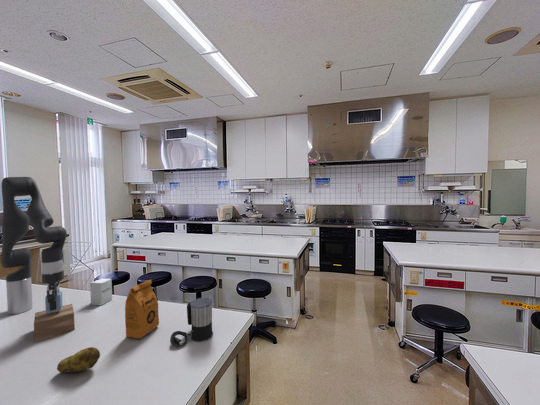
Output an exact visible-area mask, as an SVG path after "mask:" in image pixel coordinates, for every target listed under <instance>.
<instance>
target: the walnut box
mask: <svg viewBox="0 0 540 405" xmlns="http://www.w3.org/2000/svg"><path fill="white" fill-rule="evenodd" d="M75 325H76V324H75V311H74V306H73V303H70V304H65V305H63V306H62V308H61V310H59V311H54V312H50V313H46V309H45V310H41V311H38V312H35V314H34V320H33V333H34V335H33V336H34V343H36V342H40V341H43V340H46V339H50V338H53V337H56V336H58V335H63V334H66V333H69V332H72V331H75Z"/></svg>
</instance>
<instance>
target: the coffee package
mask: <svg viewBox="0 0 540 405" xmlns="http://www.w3.org/2000/svg"><path fill="white" fill-rule="evenodd" d="M152 283H153V281H152V279H149V280H146V281H144V282H141V283H139V284H137V285H135V286H133V287H131V288H130V289H129V292H128V295H127V296H126V299H125V306H124V312H125V314H124V321H125V337H126V338H133V339H142V338H143V337H144V336H145V335H147V334H149V333H150V332H152V331H153V330H155V329H156V328H158V327H159V324H160V319H159V317H160V316H159V302H158V297H157V296H156V293H155V292H154V291H153V288H152V286H151V285H152Z"/></svg>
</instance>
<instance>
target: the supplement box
mask: <svg viewBox="0 0 540 405" xmlns="http://www.w3.org/2000/svg"><path fill="white" fill-rule="evenodd" d="M112 281H113V280H112V278H100V279H96V280H94V281H91V282H90V283H89V284H90V286H89V287H90V288H89V289H90V305H93V306H103V305H104V304H107V303H109V302H110V301H113V288H112V287H113V286H112V285H113V283H112Z"/></svg>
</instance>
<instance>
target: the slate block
mask: <svg viewBox="0 0 540 405" xmlns="http://www.w3.org/2000/svg"><path fill="white" fill-rule="evenodd" d="M55 294H56V293H55ZM51 299H54V298H53V297H52V298H51ZM56 299H57V300H56V307H57V308H56V310H52V311H50V305H49V303H48V302H47V301H48V300H47V295H45V298H44V300H45V302H44V303H45V305H44V306H45V310H46V313H50V312H54V311H59V310H61V308H62V306H64V305H63V291H61V290H60V291H59V292H58V295H57V296H56Z"/></svg>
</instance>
